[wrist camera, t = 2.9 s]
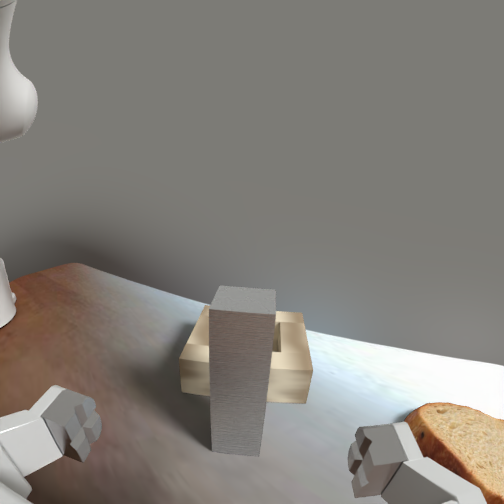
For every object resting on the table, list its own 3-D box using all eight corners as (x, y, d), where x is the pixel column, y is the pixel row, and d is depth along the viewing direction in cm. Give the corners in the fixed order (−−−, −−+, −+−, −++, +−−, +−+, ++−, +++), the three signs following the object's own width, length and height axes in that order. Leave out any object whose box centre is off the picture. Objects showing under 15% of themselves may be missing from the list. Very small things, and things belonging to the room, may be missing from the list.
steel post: (212, 451, 21) (208, 309, 18) (218, 421, 25) (219, 285, 22) (259, 456, 21) (276, 314, 18) (261, 425, 25) (275, 289, 21)
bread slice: (403, 407, 27) (414, 381, 26) (524, 417, 20) (538, 393, 19) (379, 548, 11) (401, 531, 10) (549, 530, 4) (575, 506, 3)
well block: (181, 392, 29) (178, 358, 28) (205, 333, 41) (205, 305, 40) (305, 403, 28) (312, 370, 27) (297, 341, 41) (302, 312, 40)
